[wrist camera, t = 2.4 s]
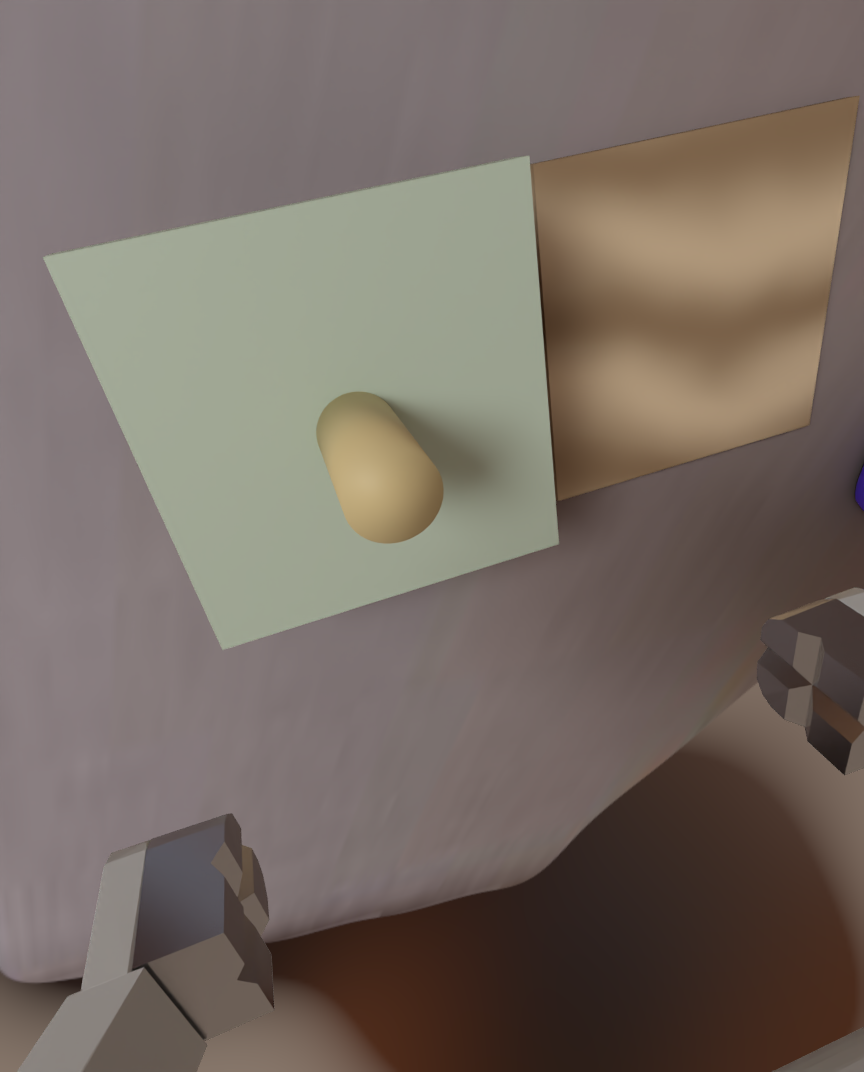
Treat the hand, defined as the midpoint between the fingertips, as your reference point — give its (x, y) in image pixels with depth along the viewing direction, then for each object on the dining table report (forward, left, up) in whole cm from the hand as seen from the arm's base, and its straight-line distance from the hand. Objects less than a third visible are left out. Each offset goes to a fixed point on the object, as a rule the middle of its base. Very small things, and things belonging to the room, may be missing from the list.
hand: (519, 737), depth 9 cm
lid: (0, 0, -14) cm, 14 cm away
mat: (+1, +16, -19) cm, 25 cm away
